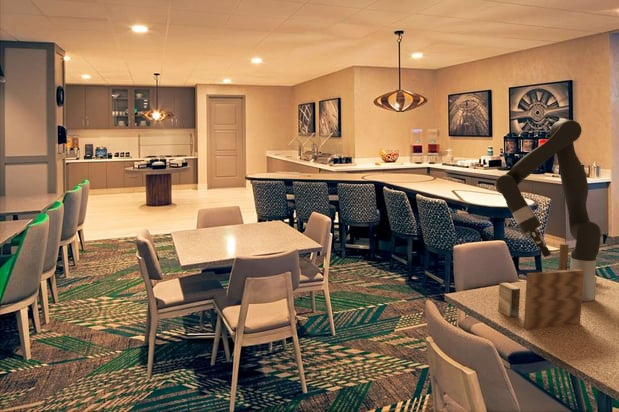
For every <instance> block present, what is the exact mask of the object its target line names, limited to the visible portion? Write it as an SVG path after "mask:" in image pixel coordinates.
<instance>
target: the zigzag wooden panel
mask: <svg viewBox="0 0 619 412" xmlns="http://www.w3.org/2000/svg"><path fill="white" fill-rule="evenodd" d="M583 277H584V270H581V269H573V270H570V269H567V270H561V271H558V270H551V271H549V270H548V271H536V272H526V280H525V281H526V282H525V283H526V284H525V298H524V299H525V300H524V302H525V303H524V318H523V319H524V320H523V328H525V329H527V330H533V329H542V328H543V329H544V328H550V327H561V326H569V325H579V324H581V317H582V316H581V315H582V314H581V313H582V302H583V301H582V290H583Z"/></svg>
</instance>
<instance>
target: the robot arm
mask: <svg viewBox="0 0 619 412" xmlns="http://www.w3.org/2000/svg"><path fill="white" fill-rule="evenodd" d="M582 130H583V129H582V126H581V124H580V123H579V122H578V121H576V120H573V119H567V120H566V119H564V120H558V121H556V122H554V123H553V124H552V126H551V127H550V137H549V138H548V139H547V140H546V141H545V142H543V143H542V144H541V145H539V146H537V147H536V148H535V149H532V150H531V151H530V152H528V153H526V154H525V155H524V156H523V157H521V158H520V160H518V161H517V162H516V163H515V164H514V165H513V166H512V167H511V168H510V170H509V171H507V172H506V173H505V174H502V175H500V176H498V178H497V179H496V182H495V189H496V191H497V192H498V193H499V194H501V196H503V198H504V200H505V202H506V203H505V204H506V205H507V208H508V209H509V212H511V215H512V217H513V219H514V221H515V222H516V224H517V226H518V228H519V229H520V231H521V233H522V234H523V235H526V234H527V233H529V235H530V236H529V237H530V239H531V240H532V241H533V243H534V245H535V246H536V247H537V248H538V249H539V251H540V253H542V256H543V258H547V257H549V256H551V254H552V253H551V251H550V249H549V248H548V247H547V243H546V241H545V239H544V237H543V234H542V233H541V232H540V231H539V230H537V229H538V228H540V227H541V226H542V224H541V222H540V221H539V219H538V218H537V216H536V214H535V213H534V211H533V209H532V208H531V206H530V205H529V204H528V202H527V200H526V199H525V198H524V196H523V195H522V193H521V190H520V188H519V185H520V184H521V183H522V181H524V180H525V179H526V178H528V177H529V176H530V175H531V174H532V173H533V172H535V171H536V170H537V169H539V168H540V167H541V165H543V164H544V163H545V162H546V161H548V160H549V159H550V158H552V157H553V156H554V155H556V159H557V164H558V170H559V174H560V175H559V176H560V180H561V186H562V191H563V194H564V199H565V203H566V207H567V213H568V214H567V215H568V225H569V233H570V235H571V237H572V238H574V239H575V248H574V249H572V250H571V253H570V264H569V265H570V268H569V270H573V269H581V270H584V277H583V290H582V302H585V303H586V302H587V303H588V302H592V301H594V300H596V295H597V294H596V293H597V280H598V278H597V277H596V266H597V258H598V257H597V256H598V255H599V252H600V248H601V247H600V246H601V235H602V233H601V228H600V226H599V225H598V224H597V223H596V222H593V221H592V220H591V219H590V218H589V213H588V210H587V200H588V195H589V184H588V179H587V178H588V177H587V174H586V170H585V168H584V166H583V164H582V163H581V161H580V159H579V157H578V156H577V153H576V149H575V145H574V142H576V141H577V140H578V139H579V138H580V136H581V135H582Z"/></svg>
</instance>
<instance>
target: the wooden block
mask: <svg viewBox="0 0 619 412" xmlns="http://www.w3.org/2000/svg"><path fill="white" fill-rule="evenodd" d="M569 246H570V245H569V244H568V243H563V242H562V243H560V244H559V255H558V268H557V269H558V270H557V271H561V270H568V269H570V264H569V265H568V262H569V261H568V259H569Z"/></svg>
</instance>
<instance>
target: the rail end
mask: <svg viewBox="0 0 619 412" xmlns="http://www.w3.org/2000/svg"><path fill="white" fill-rule="evenodd" d="M520 294H521V289H520V287H517V286H515V285H513V284H512V283H509V282H500V283H499V287H498V304H497V305H498V308H497V311H499V312H501V313H502V314H504V315H506V316H508V317H509V318H518V317H519V315H520V314H519V313H520V301H521V295H520Z"/></svg>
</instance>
